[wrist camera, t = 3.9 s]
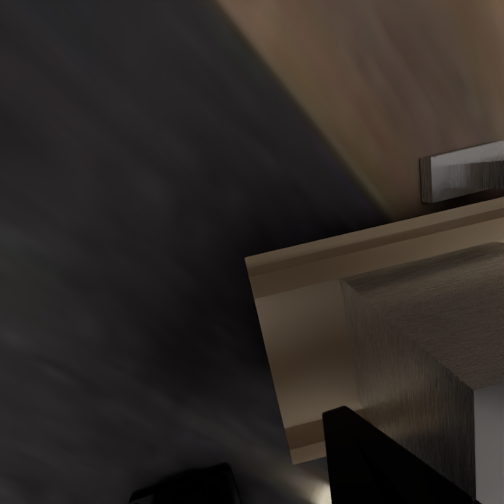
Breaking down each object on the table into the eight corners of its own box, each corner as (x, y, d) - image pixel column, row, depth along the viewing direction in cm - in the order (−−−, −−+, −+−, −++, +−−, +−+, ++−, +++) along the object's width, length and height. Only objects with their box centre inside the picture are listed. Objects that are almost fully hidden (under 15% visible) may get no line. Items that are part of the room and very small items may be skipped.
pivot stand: (489, 336, 19) (584, 387, 14) (430, 353, 19) (507, 413, 14) (491, 142, 16) (616, 123, 11) (419, 158, 15) (516, 146, 10)
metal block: (487, 367, 12) (717, 530, 7) (359, 402, 12) (478, 600, 6) (486, 239, 11) (784, 305, 5) (339, 277, 11) (473, 390, 5)
